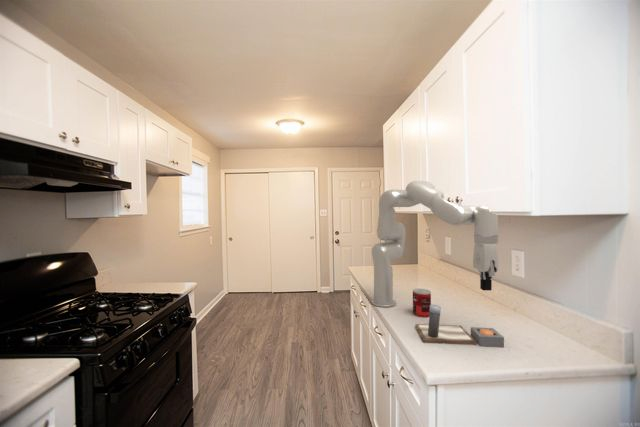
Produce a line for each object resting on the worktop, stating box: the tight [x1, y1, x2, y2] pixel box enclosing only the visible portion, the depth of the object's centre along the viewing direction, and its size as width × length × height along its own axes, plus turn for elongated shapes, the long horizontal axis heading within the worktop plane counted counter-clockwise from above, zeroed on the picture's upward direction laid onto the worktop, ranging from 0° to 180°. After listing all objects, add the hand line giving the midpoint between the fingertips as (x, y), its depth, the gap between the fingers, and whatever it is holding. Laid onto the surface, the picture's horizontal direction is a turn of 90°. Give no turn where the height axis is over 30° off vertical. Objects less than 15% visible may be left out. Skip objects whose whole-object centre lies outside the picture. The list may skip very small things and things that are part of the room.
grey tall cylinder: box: [428, 304, 442, 338], centre depth 107 cm, size 4×4×11 cm
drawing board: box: [414, 323, 477, 346], centre depth 110 cm, size 14×18×1 cm
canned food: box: [412, 288, 432, 318], centre depth 132 cm, size 8×8×11 cm
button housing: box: [470, 326, 505, 348], centre depth 105 cm, size 8×8×4 cm
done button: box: [480, 329, 494, 335], centre depth 105 cm, size 4×4×3 cm
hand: (485, 289), depth 105 cm, fingers closed
